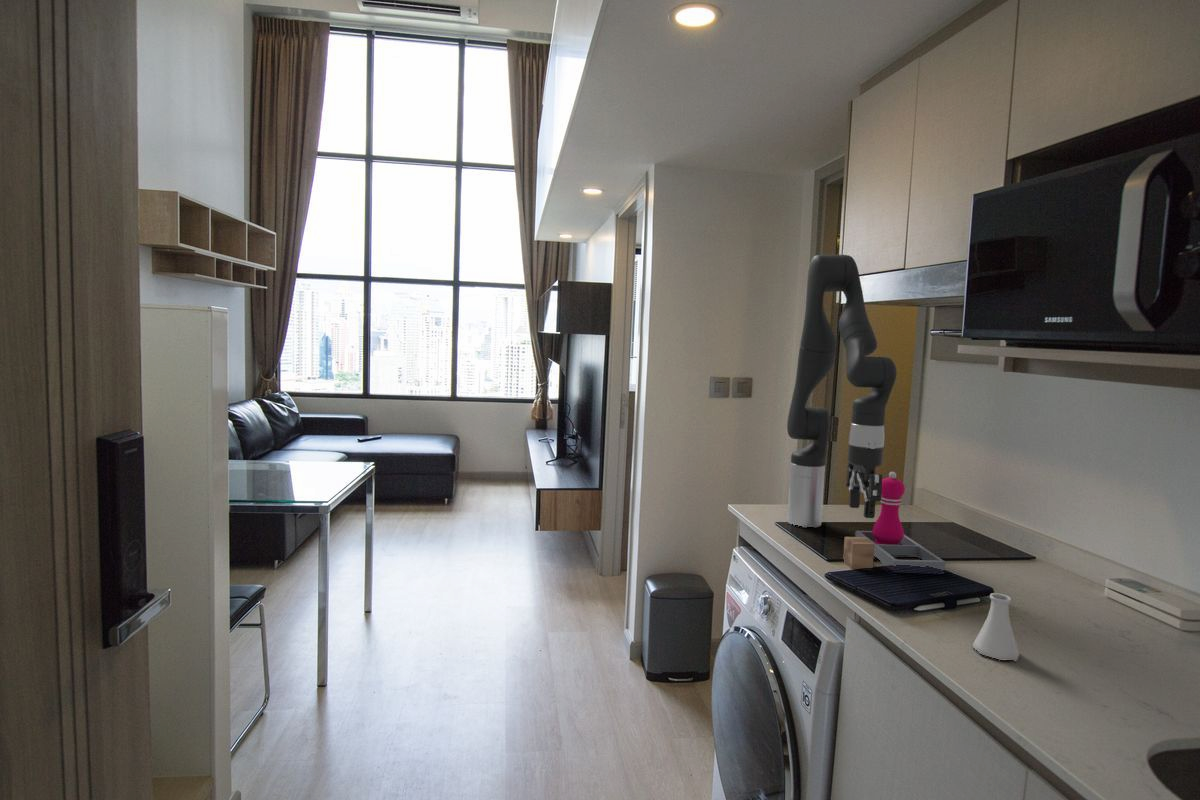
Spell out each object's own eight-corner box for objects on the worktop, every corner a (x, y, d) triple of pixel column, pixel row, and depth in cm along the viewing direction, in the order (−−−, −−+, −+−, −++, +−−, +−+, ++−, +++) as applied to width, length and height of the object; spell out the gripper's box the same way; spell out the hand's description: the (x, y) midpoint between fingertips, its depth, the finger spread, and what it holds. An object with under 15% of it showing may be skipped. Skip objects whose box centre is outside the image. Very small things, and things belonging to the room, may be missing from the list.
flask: (1024, 666, 111) (1030, 608, 110) (975, 657, 113) (980, 601, 112) (1014, 647, 118) (1020, 592, 116) (968, 639, 120) (973, 585, 119)
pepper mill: (872, 552, 166) (878, 473, 164) (870, 543, 173) (875, 467, 171) (904, 556, 164) (910, 476, 162) (900, 547, 171) (906, 470, 169)
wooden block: (842, 561, 159) (844, 536, 159) (863, 561, 160) (865, 537, 159) (851, 568, 154) (853, 543, 154) (872, 569, 155) (874, 544, 154)
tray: (854, 541, 174) (855, 530, 174) (898, 542, 174) (899, 531, 174) (893, 573, 152) (894, 560, 152) (944, 574, 152) (945, 561, 152)
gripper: (838, 438, 161) (834, 504, 163) (862, 448, 147) (857, 520, 148) (869, 439, 161) (864, 505, 163) (896, 449, 147) (891, 521, 149)
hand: (861, 512), depth 156 cm, fingers open, 8 cm apart
